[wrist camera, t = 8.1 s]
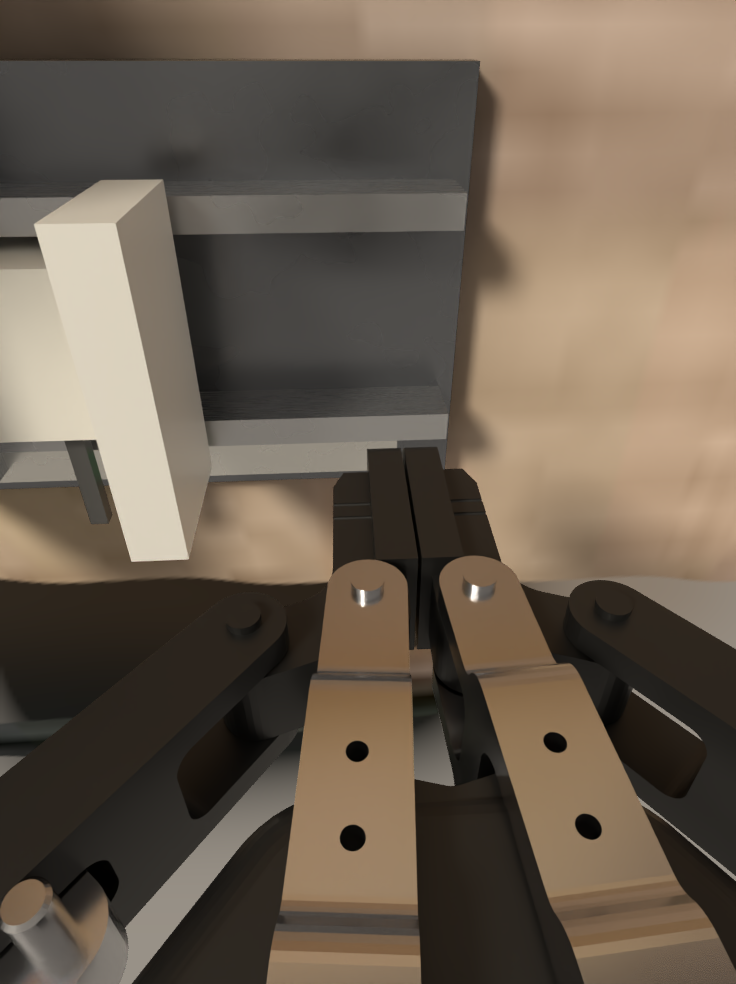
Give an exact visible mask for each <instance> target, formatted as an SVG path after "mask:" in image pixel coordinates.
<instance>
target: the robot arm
mask: <svg viewBox="0 0 736 984" xmlns="http://www.w3.org/2000/svg"><path fill="white" fill-rule="evenodd" d="M333 505H334V507H333V573H332V576H331V577H330V579H329V582H328V584H327V585H326V586H325V587H324V588H323V589H322V590H321V591H320V592H319V593H317V594H316V595H314V596H312V597H310V598H308V599H306V600H303V601H301V602H297V603H294V604H291V605H287V606H284V607H283V606H282V604H281V603H280V602H279V601H278V600H276V599H275V598H273V597H271V596H269V595H266V594H263V593H256V592H245V593H239V594H234V595H231V596H229V597H226V598H224V599H222V600H221V601H219V602H217V603H216V604H214V605H213V606H212V607H211V608H209V609H208V610H207V611H206V612H205V613H203V614H202V615H201V616H200V617H198V618H197V619H196V620H195V621H193V622H192V623H191V624H190V625H189V626H187V627H186V628H185V629H184V630H182V631H181V632H180V633H178V634H177V635H176V636H175V637H173V638H172V639H171V640H170V641H169V642H167V643H166V644H165V645H164V646H162V647H161V648H160V649H159V650H157V651H156V652H155V653H154V654H153V655H151V656H150V657H149V658H148V659H146V660H145V661H144V662H142V663H141V664H140V665H139V666H137V667H136V668H135V669H134V670H133V671H131V672H130V673H129V674H128V675H126V676H125V677H124V678H123V679H121V680H120V681H119V682H118V683H116V684H115V685H114V686H113V687H112V688H110V689H109V690H108V691H107V692H105V693H104V694H103V695H101V696H100V697H99V698H98V699H97V700H95V701H94V702H93V703H92V704H90V705H89V706H88V707H87V708H85V709H84V710H83V711H82V712H80V713H79V714H78V715H77V716H75V717H74V718H73V719H72V720H70V721H69V722H68V723H67V724H65V725H64V726H63V727H62V728H61V729H59V730H58V731H57V732H56V733H54V734H53V735H52V736H51V737H49V738H48V739H47V740H46V741H44V742H43V743H42V744H41V745H39V746H38V747H37V748H36V749H34V750H33V751H32V752H31V753H29V754H28V755H27V756H26V757H25V758H23V759H22V760H21V761H20V762H19V763H17V764H16V765H15V766H13V767H12V768H11V769H10V770H8V771H7V772H6V773H5V774H4V775H2V776H1V777H0V984H119V983H120V981H121V978H122V975H123V973H124V970H125V967H126V962H127V958H128V937H127V933H126V929H125V927H126V925H128V923H129V922H130V921H131V920H132V919H133V918H134V917H135V916H136V915H137V913H138V912H139V911H140V910H141V909H142V908H143V907H144V906H145V905H146V903H147V902H148V901H149V900H150V899H151V898H152V897H153V896H154V894H155V893H156V892H157V891H158V890H159V889H160V888H161V886H163V884H164V883H165V882H166V881H167V880H168V879H169V878H170V877H171V875H172V874H173V873H174V872H175V871H176V870H177V869H178V868H179V867H180V865H181V864H182V863H183V862H184V861H185V860H186V859H187V858H188V856H189V855H190V854H191V853H192V852H193V851H194V850H195V849H196V848H197V847H198V845H199V844H200V843H201V842H202V841H203V840H204V839H205V838H206V836H207V835H208V834H209V833H210V832H211V831H212V830H213V829H214V828H215V826H216V825H217V824H218V823H219V822H220V821H221V820H222V819H223V817H224V816H225V815H226V814H227V813H228V812H229V811H230V810H231V809H232V807H233V806H234V805H235V804H236V803H237V802H238V801H239V800H240V799H241V797H242V796H243V795H244V794H245V793H246V792H247V791H248V789H249V788H250V787H251V786H252V785H253V784H254V783H255V782H256V781H257V780H258V778H259V777H260V776H261V775H262V774H263V773H264V772H265V771H266V769H267V768H268V767H269V766H270V765H271V764H272V763H273V762H274V760H275V759H276V758H277V757H278V756H279V755H280V754H281V753H282V752H283V751H284V749H285V748H286V747H287V746H288V745H289V744H290V743H291V741H292V740H293V739H294V737H295V735H296V733H297V731H298V728H301V727H304V733H303V741H302V749H301V757H300V764H299V772H298V779H297V787H296V795H295V802H294V805H292V806H290V807H288V808H286V809H285V810H283V811H281V812H280V813H278V814H276V815H275V816H273V817H272V818H270V819H269V820H268V821H267V822H265V823H264V824H263V825H262V826H260V827H259V828H258V829H257V830H256V831H255V832H254V833H253V834H252V835H251V836H250V837H249V838H248V839H247V840H246V841H245V842H244V843H243V844H242V845H241V847H240V848H239V849H238V850H237V851H236V853H235V854H234V855H233V857H232V858H231V859H230V860H229V862H228V863H227V864H226V865H225V867H224V868H223V869H222V870H221V872H220V873H219V874H218V875H217V877H216V878H215V879H214V881H213V882H212V883H211V884H210V886H209V887H208V888H207V889H206V891H205V892H204V893H203V895H202V896H201V897H200V898H199V899H198V901H197V902H196V903H195V905H194V906H193V907H192V908H191V910H190V911H189V912H188V913H187V915H186V916H185V917H184V918H183V920H182V921H181V922H180V924H179V925H178V926H177V927H176V929H175V930H174V931H173V932H172V934H171V935H170V936H169V937H168V939H167V940H166V941H165V942H164V944H163V945H162V947H161V948H160V949H159V950H158V951H157V953H156V954H155V955H154V956H153V958H152V959H151V960H150V962H149V963H148V964H147V965H146V967H145V968H144V969H143V970H142V972H141V973H140V974H139V975H138V977H137V978H136V979H135V980H134V982H133V983H132V984H736V881H735V880H734V879H732V878H731V877H730V876H729V875H728V874H727V873H725V872H724V871H723V870H722V869H721V868H719V867H718V866H717V865H716V864H715V863H714V862H712V861H711V860H710V859H709V858H708V857H707V856H705V855H704V854H703V853H702V852H701V851H699V849H697V848H696V847H695V846H694V845H693V844H691V843H690V842H689V841H688V840H687V839H686V838H685V837H683V836H682V835H681V834H680V833H679V832H677V831H676V830H675V829H674V828H673V827H672V826H670V825H669V824H668V823H667V822H665V821H664V820H663V819H661V818H660V817H659V816H657V815H656V814H654V813H653V812H651V811H650V810H648V809H647V808H645V807H643V806H642V805H641V803H640V801H639V799H638V797H639V798H640V799H642V800H643V801H644V802H645V803H646V804H648V805H649V806H650V807H651V808H653V809H654V810H655V811H656V812H658V813H659V814H660V815H662V816H663V817H664V818H665V819H666V820H668V821H669V822H670V823H671V824H673V825H674V826H675V827H676V828H678V829H679V830H680V831H681V832H682V833H684V834H685V835H686V836H687V837H688V838H690V839H691V840H692V841H693V842H695V843H696V844H697V845H699V846H700V847H701V848H702V849H703V850H705V851H706V852H707V853H708V854H709V855H711V856H712V857H713V858H714V859H716V860H717V861H718V862H719V863H721V864H722V865H723V866H724V867H726V868H727V869H728V870H729V871H731V872H732V873H733V874H734V875H735V876H736V649H734V648H732V647H731V646H729V645H728V644H726V643H724V642H722V641H721V640H719V639H717V638H715V637H714V636H712V635H711V634H709V633H707V632H706V631H704V630H702V629H700V628H699V627H697V626H695V625H694V624H692V623H690V622H688V621H687V620H685V619H683V618H682V617H680V616H678V615H677V614H675V613H673V612H672V611H670V610H668V609H666V608H665V607H663V606H661V605H660V604H658V603H656V602H655V601H653V600H651V599H649V598H648V597H646V596H644V595H643V594H641V593H639V592H638V591H636V590H634V589H632V588H630V587H628V586H626V585H623V584H620V583H617V582H612V581H606V580H595V581H589V582H585V583H583V584H581V585H579V586H577V587H576V588H575V589H574V590H573V591H572V593H571V594H570V597H564V596H559V595H555V594H550V593H545V592H541V591H537V590H534V589H531V588H528V587H527V586H525V585H523V584H521V583H520V582H519V580H518V578H517V576H516V574H515V573H514V572H513V571H512V570H511V569H510V568H509V567H508V566H507V565H505V564H503V563H502V562H501V559H500V556H499V553H498V550H497V546H496V543H495V540H494V537H493V534H492V530H491V527H490V524H489V521H488V518H487V515H486V513H485V512H486V511H485V508H484V505H483V502H482V501H481V495H480V492H479V489H478V486H477V483H476V482H475V481H474V480H473V479H472V478H471V477H470V476H469V475H468V474H467V473H466V472H465V471H464V470H463V469H443V468H442V463H441V459H440V455H439V451H438V448H437V447H409V448H403V450H402V452H401V448H381V449H367V472H353V473H343V474H342V476H341V477H340V479H339V480H338V482H337V483H336V485H335V486H334V492H333ZM415 635H416V642H417V649H431V654H432V660H433V670H432V688H433V692H434V696H435V700H436V704H437V709H438V713H439V717H440V721H441V725H442V729H443V733H444V737H445V742H446V746H447V750H448V755H449V759H450V762H451V767H452V772H453V778H454V785H455V786H445V785H440V784H435V783H430V782H425V781H420V780H416V779H414V750H413V713H412V681H411V675H410V666H409V650H414V638H415ZM633 688H634V689H635V690H637V691H638V692H640V693H641V694H643V695H644V696H646V697H647V698H649V699H650V700H651V701H653V702H654V703H656V704H657V705H658V706H660V707H661V708H663V709H664V710H666V711H667V712H668V713H670V714H671V715H673V716H674V717H676V718H677V719H679V720H680V721H681V722H683V723H684V724H686V725H687V726H689V727H690V728H691V729H693V730H694V731H695V732H696V733H697V734H698V735H699V737H700V738H701V739H702V741H701V740H700V739H698V738H697V737H695V736H694V735H693V734H691V733H690V732H689V731H687V730H685V729H684V728H683V727H681V726H680V725H679V724H677V723H676V722H674V721H673V720H671V719H670V718H669V717H667V716H665V715H664V714H663V713H661V712H660V711H658V710H657V709H656V708H654V707H653V706H651V705H650V704H648V703H647V702H646V701H644V700H643V699H641V698H640V697H639V696H637V695H636V694H634V693H633V692H632V689H633ZM637 796H638V797H637Z"/></svg>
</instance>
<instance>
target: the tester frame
mask: <svg viewBox="0 0 736 984" xmlns="http://www.w3.org/2000/svg"><path fill="white" fill-rule="evenodd" d="M479 67H480V61H477V60H0V237H37V234H36V230H35V227H34V224H35V223H36V222H38V221H39V220H41V219H42V218H44V217H45V216H47V215H48V214H50V213H51V212H53V211H55V210H56V209H58V208H59V207H61V206H62V205H64V204H65V203H67V202H68V201H70V200H71V199H73V198H74V197H76V196H77V195H79V194H80V193H82V192H83V191H85V190H87V189H88V188H90V187H91V186H93V185H94V184H96V183H97V182H99V181H100V180H156V179H163V181H164V187H165V193H166V199H167V205H168V211H169V216H170V222H171V228H172V234H173V240H174V246H175V252H176V258H177V263H178V269H179V275H180V281H181V287H182V293H183V299H184V305H185V310H186V316H187V322H188V328H189V334H190V340H191V346H192V352H193V357H194V363H195V369H196V375H197V381H198V387H199V393H200V399H201V404H202V410H203V416H204V422H205V428H206V434H207V440H208V446H209V451H210V457H211V463H212V469H211V473H210V477H209V481H208V482H225V481H254V480H283V479H313V478H340V477H341V476H342V474H343V473H353V472H367V449H381V448H401V452H402V450H403V448H409V447H437V448H438V451H439V455H440V459H441V463H442V468H443V469H445V458H446V447H447V435H448V424H449V412H450V401H451V389H452V378H453V366H454V354H455V343H456V331H457V320H458V308H459V297H460V285H461V274H462V262H463V251H464V239H465V228H466V216H467V205H468V193H469V182H470V170H471V159H472V147H473V136H474V124H475V113H476V101H477V90H478V78H479ZM90 441H91V444H92V448H93V451H94V455H95V458H96V461H97V465H98V468H99V471H100V475H101V478H102V482H103V485H104V486H108V485H109V482H108V479H107V475H106V472H105V468H104V465H103V462H102V458H101V455H100V451H99V448H98V444H97V441H96V440H90ZM78 486H79V485H78V482H77V479H76V476H75V473H74V469H73V466H72V463H71V460H70V457H69V454H68V451H67V448H66V445H65V442H64V441H38V442H5V443H0V489H20V488H49V487H78Z"/></svg>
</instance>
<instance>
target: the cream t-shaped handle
mask: <svg viewBox="0 0 736 984" xmlns="http://www.w3.org/2000/svg"><path fill="white" fill-rule="evenodd" d="M34 227H35V230H36V234H37V237H0V443H5V442H38V441H64V442H65V445H66V448H67V451H68V454H69V457H70V460H71V463H72V466H73V469H74V473H75V476H76V479H77V482H78V485H79V488H80V491H81V494H82V497H83V500H84V503H85V506H86V510H87V513H88V516H89V519H90V522H91V524H109V521H110V519H111V517H112V512H111V509H110V505H109V502H108V498H107V495H106V492H105V488H104V485H103V482H102V478H101V475H100V471H99V468H98V465H97V461H96V458H95V455H94V451H93V448H92V444H91V441H90V440H96V441H97V444H98V448H99V451H100V455H101V458H102V462H103V465H104V468H105V472H106V475H107V479H108V482H109V486H110V489H111V493H112V496H113V500H114V503H115V506H116V510H117V513H118V517H119V520H120V524H121V527H122V531H123V534H124V538H125V541H126V544H127V548H128V551H129V555H130V558H131V562H136V561H161V560H186V559H189V557H190V553H191V549H192V545H193V541H194V537H195V533H196V529H197V525H198V521H199V517H200V513H201V509H202V505H203V501H204V497H205V493H206V489H207V485H208V481H209V477H210V473H211V469H212V463H211V457H210V451H209V446H208V440H207V434H206V428H205V422H204V416H203V410H202V404H201V399H200V393H199V387H198V381H197V375H196V369H195V363H194V357H193V352H192V346H191V340H190V334H189V328H188V322H187V316H186V310H185V305H184V299H183V293H182V287H181V281H180V275H179V269H178V263H177V258H176V252H175V246H174V240H173V234H172V228H171V222H170V216H169V211H168V205H167V199H166V193H165V187H164V181H163V179H156V180H100V181H99V182H97V183H96V184H94V185H93V186H91V187H90V188H88V189H87V190H85V191H83V192H82V193H80V194H79V195H77V196H76V197H74V198H73V199H71V200H70V201H68V202H67V203H65V204H64V205H62V206H61V207H59V208H58V209H56V210H55V211H53V212H51V213H50V214H48V215H47V216H45V217H44V218H42V219H41V220H39V221H38V222H36V223H35V224H34Z"/></svg>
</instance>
